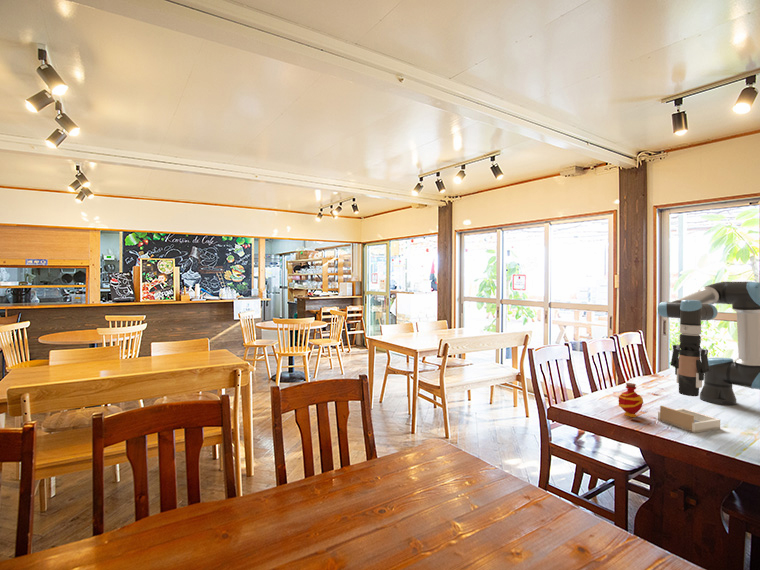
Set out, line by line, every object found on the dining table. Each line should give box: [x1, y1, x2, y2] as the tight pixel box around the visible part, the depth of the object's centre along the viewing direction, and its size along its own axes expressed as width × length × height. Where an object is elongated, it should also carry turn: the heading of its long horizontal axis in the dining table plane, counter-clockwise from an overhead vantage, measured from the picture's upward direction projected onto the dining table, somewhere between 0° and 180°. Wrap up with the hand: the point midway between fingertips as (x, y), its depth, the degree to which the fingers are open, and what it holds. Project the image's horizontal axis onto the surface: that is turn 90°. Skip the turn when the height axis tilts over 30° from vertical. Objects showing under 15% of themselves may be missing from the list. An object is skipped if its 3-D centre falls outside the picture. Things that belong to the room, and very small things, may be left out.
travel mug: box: [678, 349, 701, 397], centre depth 180 cm, size 8×8×20 cm
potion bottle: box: [618, 382, 644, 418], centre depth 192 cm, size 10×10×15 cm
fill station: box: [657, 405, 721, 434], centre depth 180 cm, size 16×16×7 cm
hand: (688, 384), depth 180 cm, fingers closed on travel mug, 8 cm apart
